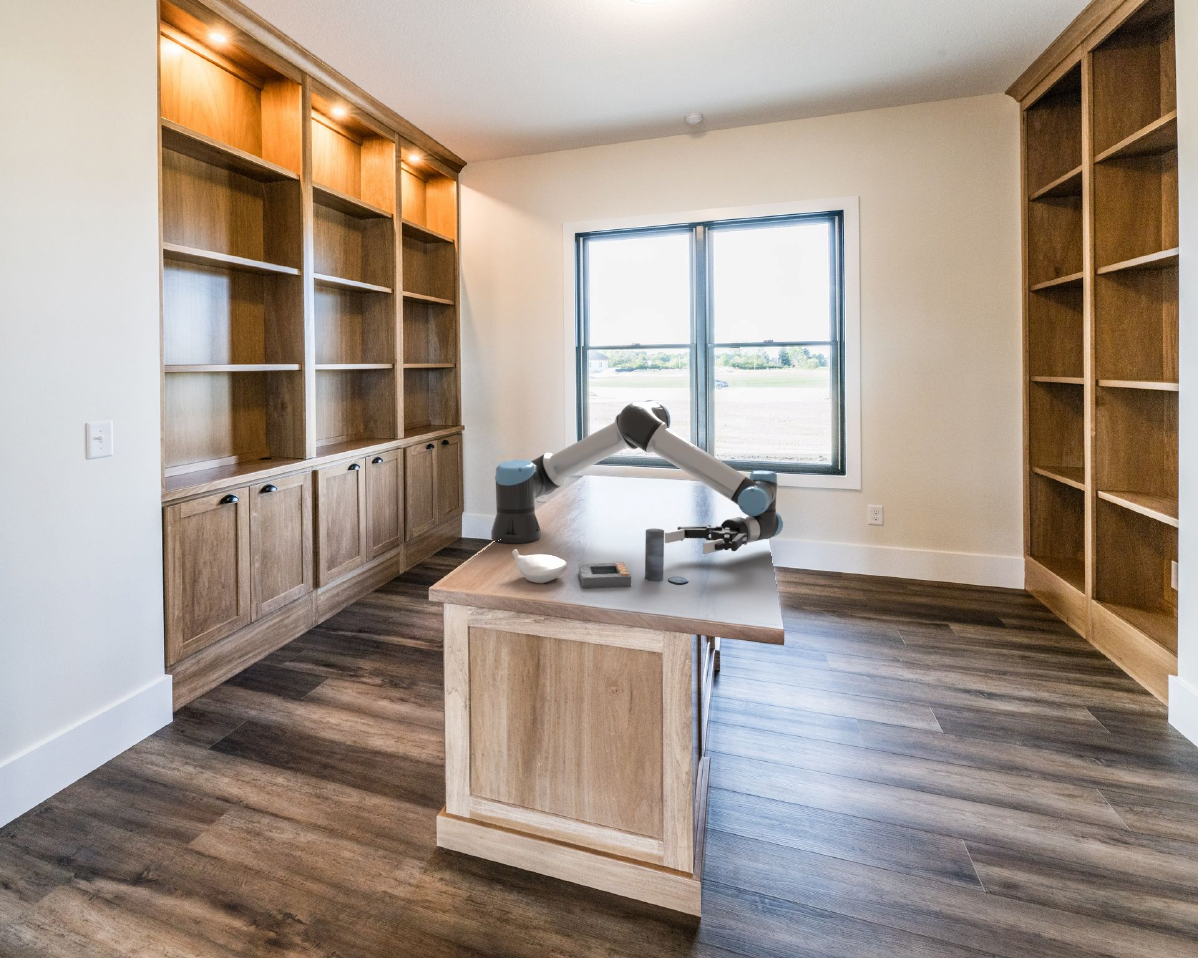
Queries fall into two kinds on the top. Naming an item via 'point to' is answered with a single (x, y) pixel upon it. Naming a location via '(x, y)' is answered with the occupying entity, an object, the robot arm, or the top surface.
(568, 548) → the top surface
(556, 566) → the driver head
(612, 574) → the socket block
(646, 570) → the peg
